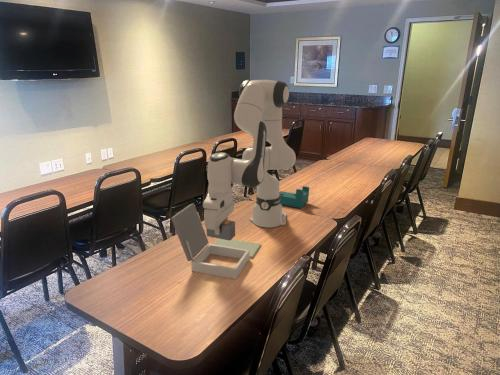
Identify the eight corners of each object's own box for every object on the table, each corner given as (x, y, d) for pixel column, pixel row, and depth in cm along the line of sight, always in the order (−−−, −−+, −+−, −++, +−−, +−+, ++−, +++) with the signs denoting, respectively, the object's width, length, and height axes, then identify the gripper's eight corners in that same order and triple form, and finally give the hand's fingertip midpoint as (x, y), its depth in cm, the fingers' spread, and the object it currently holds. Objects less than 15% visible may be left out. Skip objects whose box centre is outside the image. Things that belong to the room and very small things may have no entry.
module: (212, 231, 140) (211, 216, 139) (235, 235, 137) (235, 220, 135) (206, 236, 137) (206, 220, 135) (230, 240, 133) (229, 225, 131)
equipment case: (204, 251, 151) (203, 224, 147) (249, 258, 145) (249, 231, 141) (186, 270, 136) (185, 241, 132) (235, 279, 130) (235, 249, 127)
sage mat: (218, 239, 162) (218, 237, 162) (260, 245, 156) (260, 243, 156) (207, 250, 151) (207, 249, 151) (252, 258, 145) (252, 256, 145)
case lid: (208, 242, 149) (205, 243, 149) (193, 203, 145) (190, 203, 146) (191, 260, 134) (187, 261, 135) (174, 217, 131) (170, 218, 131)
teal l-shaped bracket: (307, 204, 209) (309, 187, 207) (300, 208, 200) (302, 190, 197) (280, 199, 218) (281, 182, 215) (272, 202, 208) (273, 185, 206)
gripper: (222, 187, 142) (223, 219, 146) (200, 205, 124) (202, 240, 128) (237, 189, 140) (237, 221, 144) (217, 207, 122) (218, 243, 126)
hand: (220, 230), depth 136 cm, fingers closed on module, 5 cm apart
